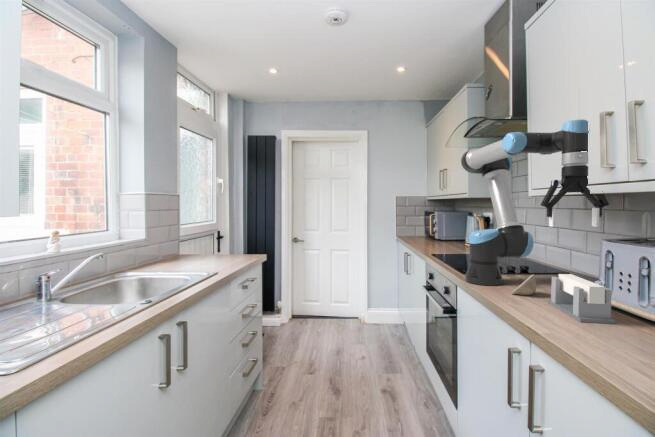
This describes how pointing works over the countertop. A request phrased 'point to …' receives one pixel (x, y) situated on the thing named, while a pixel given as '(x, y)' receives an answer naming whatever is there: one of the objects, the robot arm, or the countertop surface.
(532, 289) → the stone
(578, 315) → the bracket stand
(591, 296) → the rail
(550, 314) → the countertop surface
